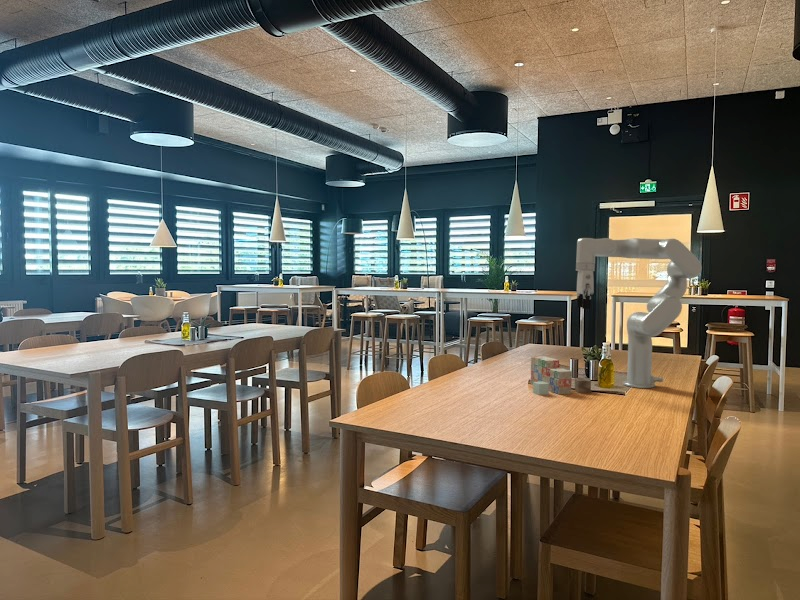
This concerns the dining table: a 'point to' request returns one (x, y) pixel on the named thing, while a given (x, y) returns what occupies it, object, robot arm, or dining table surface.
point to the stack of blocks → (551, 374)
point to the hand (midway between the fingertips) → (583, 308)
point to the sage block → (541, 388)
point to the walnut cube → (582, 385)
